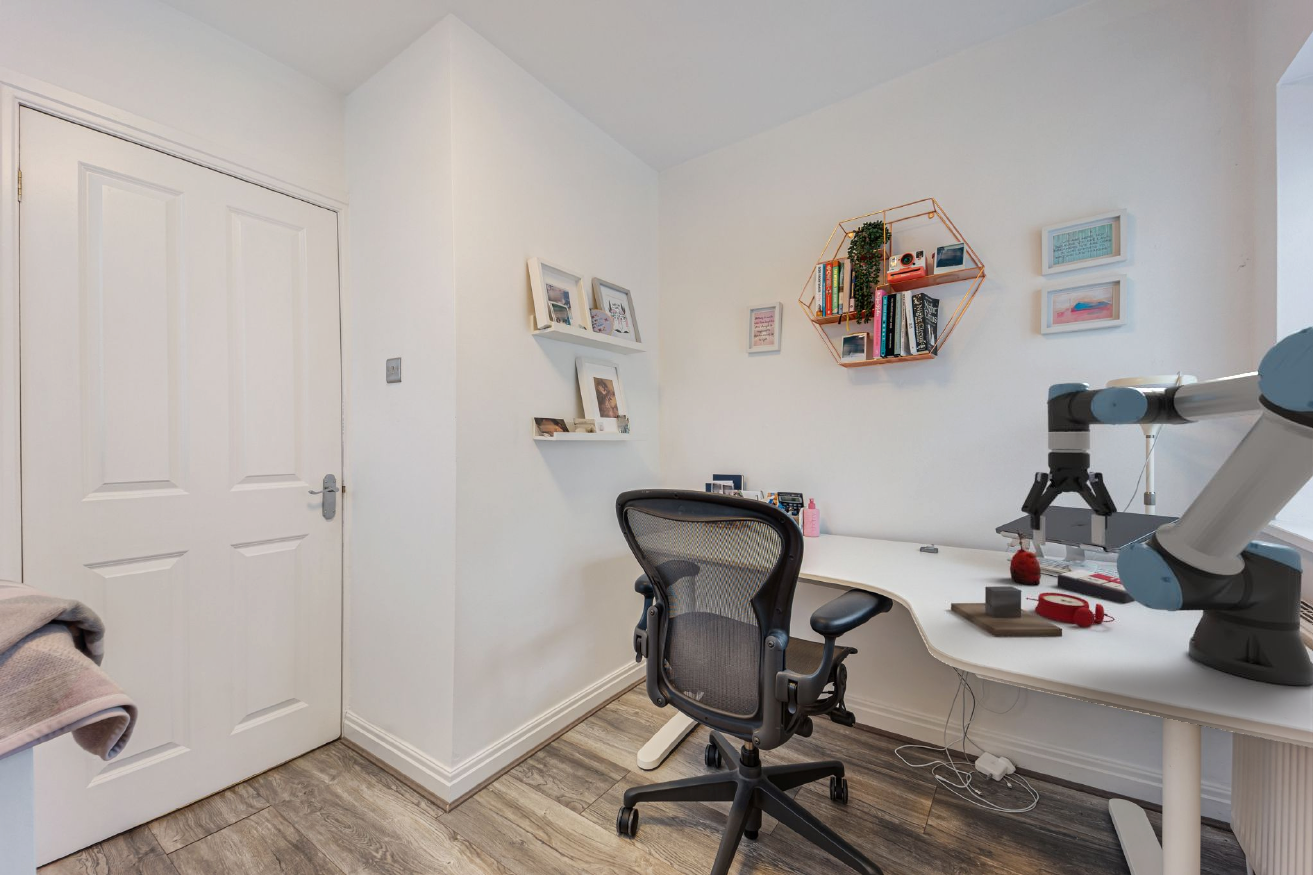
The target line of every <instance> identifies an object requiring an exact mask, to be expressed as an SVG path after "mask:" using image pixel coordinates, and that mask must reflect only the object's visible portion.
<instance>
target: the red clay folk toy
mask: <svg viewBox="0 0 1313 875" xmlns="http://www.w3.org/2000/svg"><path fill="white" fill-rule="evenodd" d="M1016 531H1017V532H1018V533H1017V534H1016V536H1018V538H1019V543H1018V544H1019V545H1020V549H1017V550H1016V552H1015V553H1014V554H1013V556H1012V558H1011V561H1010V565H1009V572H1010V578H1011V580H1012V581H1014V582H1015V583H1019V584H1022V585H1023V584H1024V585H1031V586H1033V585H1037V586H1038V585H1040V584H1041V581H1040V580H1041V579H1042V578H1041V577H1042V574H1041V573H1042V572H1041V565H1040V562H1039V560H1038V558H1037V556H1036V554H1035V553H1033V552H1029V551H1027V550H1025V549H1024V547H1023V541H1022V539H1024V540H1026V535H1022V531H1019V529H1018V528H1017V529H1016Z"/></svg>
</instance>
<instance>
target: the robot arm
mask: <svg viewBox="0 0 1313 875" xmlns="http://www.w3.org/2000/svg"><path fill="white" fill-rule="evenodd" d="M1047 393H1048V394H1047V395H1048V397H1047V402H1046V404H1047V429H1048V430H1047V431H1048V433H1047V448H1048V450H1051V451H1048V454H1047V466H1048V468H1049V472H1041V471H1038V472H1037V471H1036V472H1035V474H1034V482H1033V483H1032V486H1031V488H1030V489H1029V492H1028V494H1027V496H1026V498H1025V500H1024V502H1023V504H1022V506H1021V508H1020V509H1021V512H1022V513H1026V514H1027V515H1029V516H1030V518H1029V519H1030V525H1029V526H1030V529H1031V530H1033V531H1032V533H1033V536H1032V537H1033V541H1032V543H1033V544H1036V545H1038V546H1039V545H1040V546H1046V516H1044V515H1043V514H1044V513H1045V512H1046V510H1047V509H1048V508H1049V506H1051V505H1052V503H1053V502H1054V501H1055V500H1056V498H1057V497H1058V496H1059V495H1061V494H1062V493H1077V494H1078V495H1080V497H1081V498H1082V499H1083V500H1084V502H1085V503H1086V504H1087V505H1088V506H1089V508H1091V510H1092V511H1093V512H1094V513H1095V514H1091V518H1090V519H1091V543H1092V544H1094V545H1095V544H1096V545H1100V546H1105V545H1106V530H1107V529H1108V517H1112V516H1113V514H1116V513H1117V512H1118V509H1117V507H1116V505H1115V503H1114V501H1113V498H1112V496H1111V495H1110V492H1109V490H1108V488H1107V487H1106V485H1105V483H1104V476H1103V473H1102V472H1099V471H1098V472H1096V471H1089V472H1088V470H1089V469H1090V466H1091V454H1090V452H1088V451H1089V450H1090V449H1091V433H1090V432H1091V429H1090V426H1091V425H1113V426H1115V425H1149V424H1151V425H1173V426H1175V425H1187V424H1188V425H1189V424H1194V423H1197V422H1199V421H1205V420H1206V421H1208V420H1215V419H1216V420H1217V419H1226V418H1236V417H1237V418H1238V417H1244V416H1246V417H1247V416H1255V415H1260V417H1259V418H1258V419H1257V421H1255V423H1254V424H1253V425H1252V427H1251V428H1250V429H1249V431H1248V432H1247V433H1246V435H1245V436H1244V437H1243V438H1242V440H1241V441H1239V443H1238V445H1237V446H1236V447H1235V448H1234V449H1233V451H1232V452H1231V453H1230V454H1229V456H1228V457H1227V458H1226V460H1225V461H1224V462H1223V463H1222V465H1221V466H1220V467H1219V468H1218V470H1217V471H1216V473H1215V474H1214V475H1213V476H1212V478H1210V480H1208V482H1207V484H1206V485H1205V486H1204V487H1203V489H1202V490H1201V491H1200V492H1199V494H1198V495H1197V496H1196V498H1195V499H1194V500H1193V501H1192V503H1191V504H1190V505H1189V507H1188V508H1187V509H1186V510H1185V511H1184V512H1183V514H1182V515H1181V517H1180V518H1179V519H1178V520H1177V521H1176V522H1175V523H1173V522H1171V523H1169V522H1168V523H1164V524H1161V525H1160V526H1159V527H1158V528H1157V529H1156V530H1155V531H1154V532H1153V533H1152V535H1151V536H1150V537H1149V539H1148V540H1147V541H1146V542H1144V543H1142V542H1141V543H1140V542H1134V543H1132V544H1131V543H1130V544H1128V545H1126V546H1124V547H1122V548H1121V550H1120V551H1119V553H1118V554H1117V556H1116V557H1117V558H1116V570H1117V574H1118V578H1119V579H1120V581H1121V583H1122V585H1123V587H1124V588H1125V590H1126V591H1127V592H1128V594H1129V595H1130V596H1131V597H1132V598H1133V599H1134V600H1135V601H1134V602H1136V603H1138V604H1139V605H1142V606H1143V607H1145V608H1148V609H1151V610H1157V611H1167V612H1177V611H1202V616H1201V618H1200V620H1199V621H1198V623H1197V625H1196V628H1195V630H1194V632H1193V635H1192V636H1191V637H1190V639H1189V640H1188V641H1189V642H1188V654H1189V655H1190V656H1191V657H1192V658H1193V659H1195V660H1196V661H1198V662H1199V663H1201V664H1204V665H1205V666H1208V667H1211V668H1213V669H1216V670H1219V671H1222V672H1225V673H1228V674H1231V675H1234V676H1238V677H1242V678H1245V679H1249V680H1250V679H1251V680H1255V681H1261V682H1265V683H1272V684H1276V685H1277V684H1278V685H1285V686H1309V685H1312V684H1313V662H1312V660H1311V658H1310V655H1309V652H1308V650H1307V647H1306V644H1305V642H1304V639H1303V637H1302V635H1301V609H1302V608H1301V603H1302V602H1301V600H1302V576H1303V575H1302V574H1304V570H1303V569H1302V559H1301V558H1302V557H1301V554H1300V552H1298V550H1296V549H1295V548H1293V547H1290V546H1287V545H1284V544H1283V545H1282V544H1278V543H1274V542H1268V541H1262V540H1257V539H1255V538H1256V537H1257V536H1259V534H1260V533H1262V531H1263V530H1264V529H1265V528H1266V527H1267V526H1268V525H1269V523H1271V521H1272V520H1273V519H1275V517H1276V516H1277V515H1278V514H1279V513H1280V512H1281V511H1282V510H1283V509H1284V508H1285V506H1286V505H1287V504H1288V503H1289V502H1290V501H1291V500H1292V499H1293V498H1294V497H1295V496H1296V495H1297V494H1298V492H1299V491H1301V490H1302V488H1303V487H1304V486H1305V485H1307V483H1308V482H1309V481H1310V480H1311V478H1313V326H1308V327H1305V328H1302V329H1300V330H1297V331H1294V332H1292V333H1290V334H1288V335H1287V336H1285V337H1283V338H1282V339H1280V340H1279V341H1277V342H1276V343H1275V344H1274V345H1273V346H1272V347H1271V348H1270V349H1269V350H1268V351H1267V352H1266V353H1265V355H1264V356H1263V357H1262V359H1261V361H1260V364H1259V366H1258V368H1257V371H1255V372H1250V373H1242V374H1238V375H1233V376H1228V377H1227V376H1226V377H1219V378H1215V379H1210V380H1204V381H1198V382H1192V383H1186V384H1181V385H1176V386H1170V387H1157V388H1156V387H1155V388H1149V387H1144V388H1143V387H1141V388H1140V387H1139V388H1138V387H1137V388H1136V387H1132V386H1110V387H1107V388H1099V389H1098V388H1097V389H1090V384H1088V383H1087V382H1068V383H1067V382H1066V383H1057V384H1056V383H1055V384H1053V385H1051V386H1049V388H1048V392H1047ZM1049 482H1050V483H1049ZM1088 482H1089V484H1090V485H1089V484H1088ZM1048 483H1049V484H1048ZM1042 515H1043V516H1042Z"/></svg>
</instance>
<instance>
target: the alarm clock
mask: <svg viewBox="0 0 1313 875" xmlns="http://www.w3.org/2000/svg"><path fill="white" fill-rule="evenodd" d="M1025 598H1026V600H1030V601H1036V602H1037V604H1036V606H1035V607H1034V611H1035V613H1036V614H1038V615H1040V616H1042V617H1045V618H1047V619H1050V620H1053V621H1056V622H1062V623H1069V624H1076V625H1077V626H1079V627H1081V628H1089V627H1091V626H1092V625H1093V624H1094V623H1095V622H1096V623H1095V624H1102V623H1111V622H1113V621H1115V618H1114V617H1113V616H1112V615H1111V616H1110V615H1108V613H1105V609H1104V606H1103V605H1102V604H1100V603H1095V606H1094V607H1095V610H1094V612H1093V611H1092V610H1091V609H1090V604H1089V602H1088V601H1087V599H1084V598H1081V597H1079V596H1075V595H1072V594H1065V593H1058V592H1041V593H1039V595H1038V599H1035V598H1030V597H1029V598H1028V597H1025ZM1105 617H1106V618H1107V617H1108V618H1111V620H1104V618H1105Z"/></svg>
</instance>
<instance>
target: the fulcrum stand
mask: <svg viewBox="0 0 1313 875" xmlns="http://www.w3.org/2000/svg"><path fill="white" fill-rule="evenodd" d="M984 590H985V592H984V593H985V597H984V602H965V603H964V602H957V603H956V602H954V603H953V602H952V603H950V610H951V611H953V613H956V614H958V615H959V616H961V617H962V618H964V619H966V620H968V621H969V622H971V623H972V624H974V625H975V626H977V627H979V628H981V629H982V630H984V631H985V632H987V633H989V634H991V635H992V636H994V637H995V638H997V637H999V638H1000V637H1001V636H1004V637H1005V638H1006V637H1008V636H1010V637H1063V628H1061V627H1059V626H1057V625H1055V624H1053V623H1051V622H1049V621H1048V620H1045V619H1043V618H1041V617H1040V616H1037V615H1035V614H1033V613H1031V612H1029V611H1026V610H1025V609H1022V590H1021V589H1018V588H1017V587H1014V586H1012V585H1011V586H1007V585H1006V586H1005V585H1004V586H1003V585H1002V586H996V585H995V586H985V588H984ZM1004 637H1003V638H1004Z"/></svg>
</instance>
